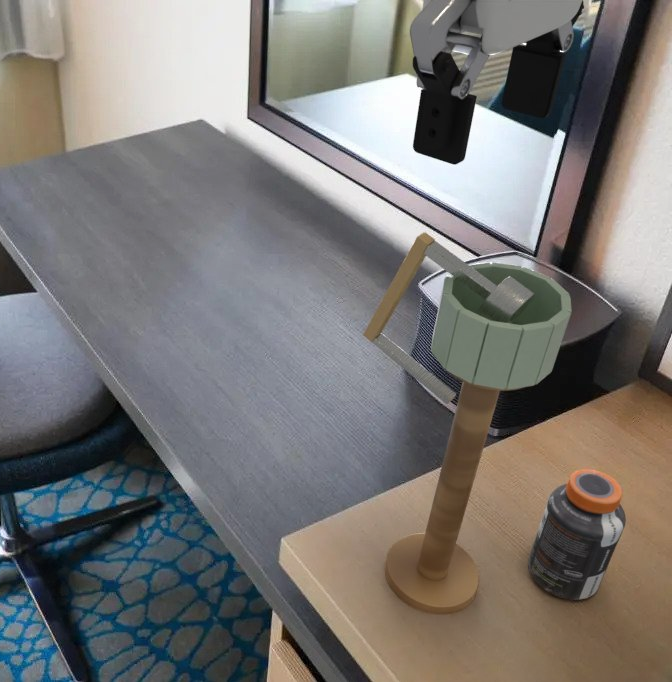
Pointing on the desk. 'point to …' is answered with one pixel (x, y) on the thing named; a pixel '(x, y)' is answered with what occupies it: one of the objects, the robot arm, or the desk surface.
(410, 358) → the wood-topped metal bracket
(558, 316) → the bowl
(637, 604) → the desk surface
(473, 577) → the stand
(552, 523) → the pill bottle
